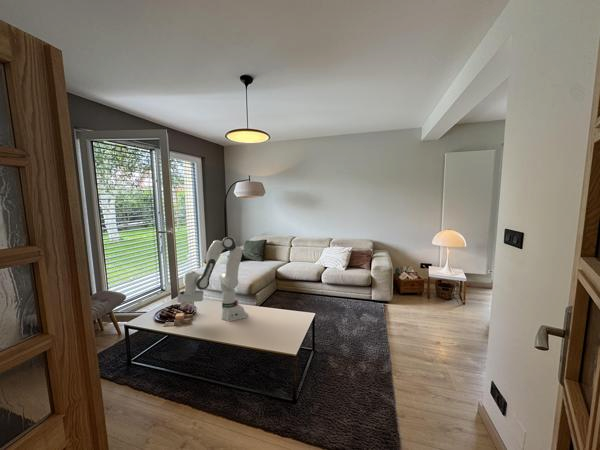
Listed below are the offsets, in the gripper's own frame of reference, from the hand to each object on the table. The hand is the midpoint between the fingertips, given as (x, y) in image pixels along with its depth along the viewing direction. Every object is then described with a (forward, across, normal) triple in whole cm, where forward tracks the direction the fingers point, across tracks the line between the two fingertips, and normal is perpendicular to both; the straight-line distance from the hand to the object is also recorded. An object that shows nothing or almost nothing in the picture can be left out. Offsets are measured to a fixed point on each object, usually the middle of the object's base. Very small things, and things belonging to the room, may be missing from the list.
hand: (190, 306), depth 213 cm
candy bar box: (+13, +6, -19) cm, 24 cm away
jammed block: (+13, +8, 0) cm, 16 cm away
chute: (+13, +10, 0) cm, 16 cm away
